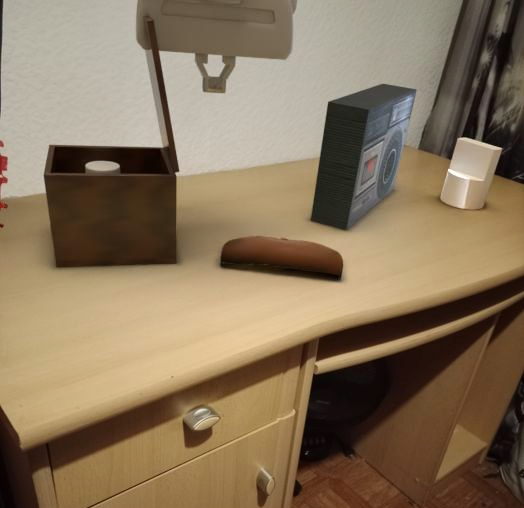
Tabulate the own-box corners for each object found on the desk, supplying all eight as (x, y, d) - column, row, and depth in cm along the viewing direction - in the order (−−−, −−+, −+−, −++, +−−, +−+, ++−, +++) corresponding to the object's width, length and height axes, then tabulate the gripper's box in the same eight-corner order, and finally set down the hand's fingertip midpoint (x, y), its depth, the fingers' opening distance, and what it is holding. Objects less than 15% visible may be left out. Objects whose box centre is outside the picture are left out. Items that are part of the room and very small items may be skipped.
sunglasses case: (338, 254, 86) (346, 228, 80) (336, 292, 83) (344, 268, 77) (226, 241, 86) (225, 214, 80) (220, 279, 83) (219, 254, 77)
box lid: (146, 20, 61) (153, 19, 61) (137, 10, 72) (143, 9, 72) (173, 173, 72) (179, 172, 72) (162, 144, 82) (167, 143, 82)
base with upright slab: (431, 197, 115) (447, 139, 109) (456, 192, 120) (473, 136, 114) (467, 212, 110) (486, 151, 103) (491, 205, 115) (511, 147, 108)
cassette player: (346, 230, 96) (369, 109, 84) (310, 220, 98) (328, 101, 87) (393, 189, 118) (416, 89, 106) (363, 182, 120) (382, 83, 109)
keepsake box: (56, 267, 75) (43, 174, 68) (59, 228, 86) (49, 144, 78) (176, 263, 79) (176, 176, 72) (165, 226, 90) (165, 147, 83)
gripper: (292, -24, 71) (280, 91, 79) (131, -42, 66) (136, 83, 73) (307, -22, 66) (293, 100, 74) (135, -42, 61) (140, 93, 68)
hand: (213, 92), depth 74 cm, fingers closed
